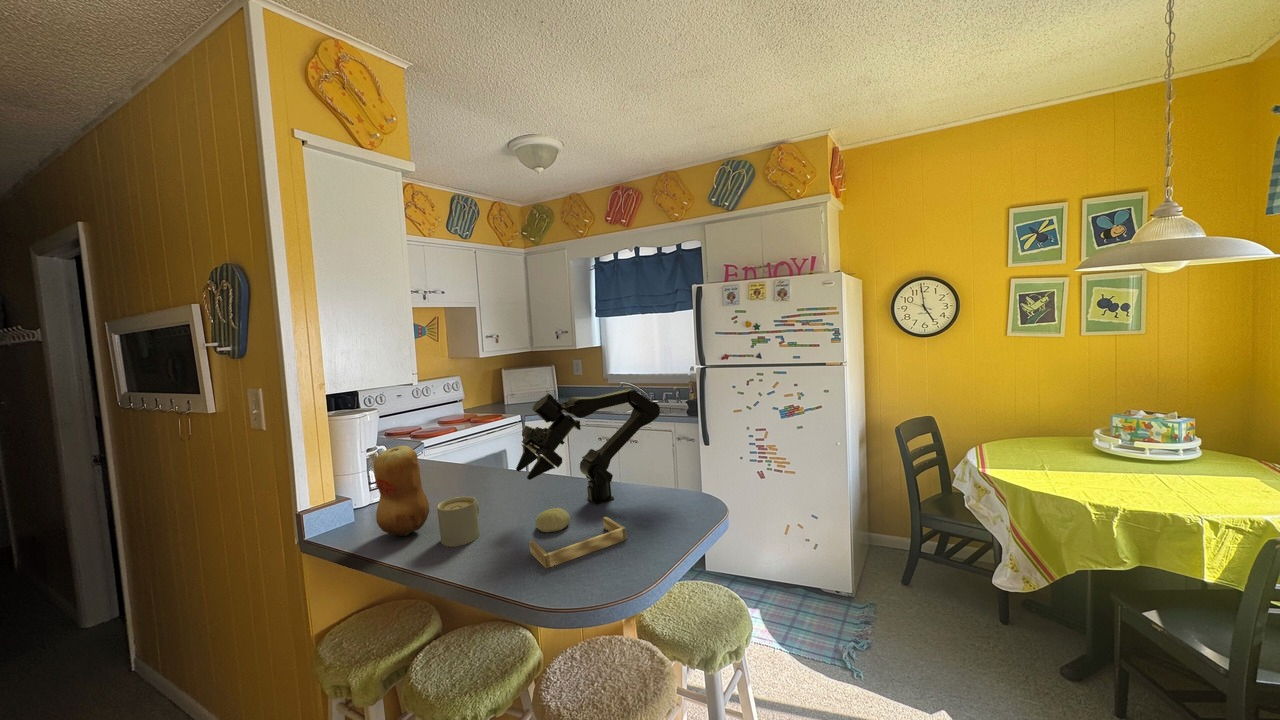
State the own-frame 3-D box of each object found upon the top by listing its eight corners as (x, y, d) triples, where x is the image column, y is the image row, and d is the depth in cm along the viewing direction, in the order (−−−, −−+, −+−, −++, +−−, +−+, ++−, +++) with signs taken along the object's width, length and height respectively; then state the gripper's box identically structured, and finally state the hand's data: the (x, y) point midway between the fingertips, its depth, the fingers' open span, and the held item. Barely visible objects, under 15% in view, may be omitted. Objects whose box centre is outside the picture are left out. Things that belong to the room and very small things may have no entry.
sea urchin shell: (529, 519, 143) (547, 495, 144) (550, 533, 145) (568, 510, 147) (536, 531, 134) (555, 505, 136) (558, 546, 137) (577, 521, 139)
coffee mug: (459, 549, 131) (455, 512, 130) (433, 543, 136) (428, 507, 135) (496, 528, 143) (492, 493, 142) (470, 523, 148) (466, 490, 147)
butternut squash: (368, 542, 140) (356, 454, 138) (404, 522, 153) (394, 441, 150) (408, 545, 136) (397, 455, 133) (442, 524, 148) (432, 441, 146)
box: (607, 527, 137) (606, 516, 137) (626, 539, 129) (625, 528, 129) (530, 553, 126) (529, 541, 125) (546, 568, 117) (545, 556, 117)
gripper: (527, 410, 155) (492, 451, 150) (551, 421, 139) (513, 466, 134) (551, 432, 160) (518, 472, 155) (577, 445, 144) (541, 489, 139)
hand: (522, 474), depth 146 cm, fingers open, 9 cm apart
